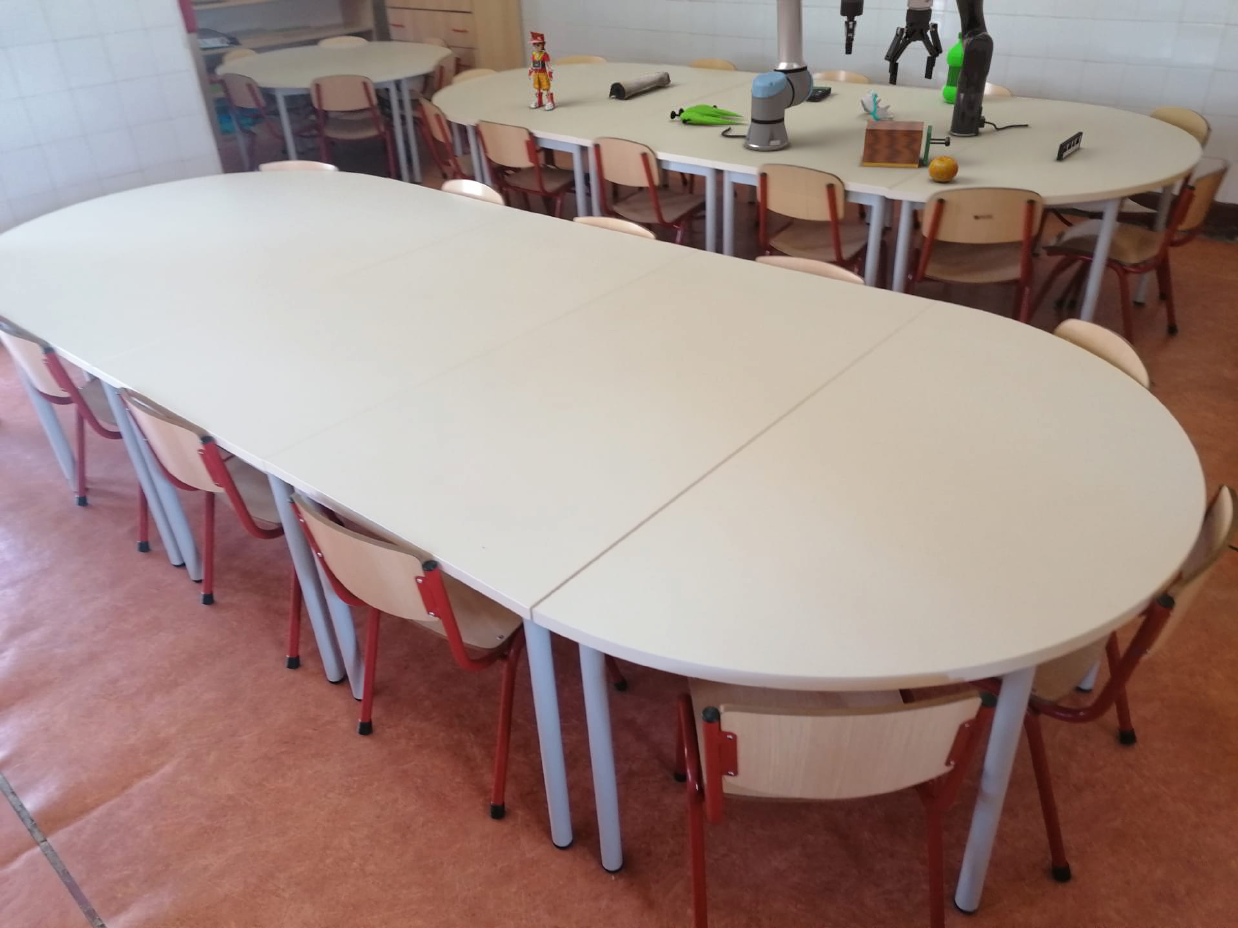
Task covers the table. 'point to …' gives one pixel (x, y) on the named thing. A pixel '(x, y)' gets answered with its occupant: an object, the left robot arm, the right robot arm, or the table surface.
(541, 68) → the toy
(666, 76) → the rolled mat
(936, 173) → the fruit
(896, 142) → the cabinet
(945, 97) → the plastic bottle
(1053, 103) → the table surface
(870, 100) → the anatomical model
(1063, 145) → the midi keyboard
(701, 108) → the toy
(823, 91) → the disk drive
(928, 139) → the drawer
